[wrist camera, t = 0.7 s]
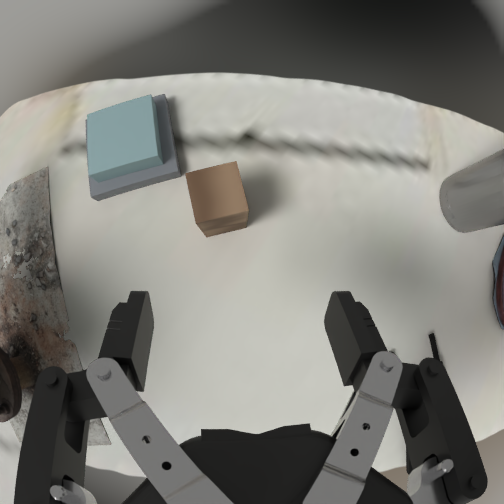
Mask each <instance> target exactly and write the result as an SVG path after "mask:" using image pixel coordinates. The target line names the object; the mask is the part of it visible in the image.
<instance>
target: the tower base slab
mask: <svg viewBox="0 0 504 504" xmlns="http://www.w3.org/2000/svg"><path fill="white" fill-rule="evenodd" d="M152 98H153V100H154V102H155V104H156V109H157V118H158V127H159V135H160V143H161V150H162V158H163V165H159V166H155V167H152V168H148V169H144V170H140V171H137V172H133V173H129V174H126V175H122V176H119V177H115V178H112V179H109V180H105V181H102V182H99V183H98V182H97V181H95V180H94V179H93V178H91V177H90V176H89V184H90V194H91V197H92V198H93V199H95V200H97V201H100V200H103V199H106V198H109V197H112V196H115V195H118V194H122V193H125V192H128V191H132V190H135V189H138V188H142V187H145V186H149V185H152V184H156V183H159V182H163V181H167V180H170V179H174V178H178V177H181V173H180V168H179V163H178V157H177V152H176V147H175V141H174V136H173V130H172V124H171V118H170V113H169V107H168V101H167V99H166V96H165V94H162V95H158V96H155V97H152ZM86 144H87V120H86ZM87 160H88V146H87ZM88 173H89V172H88Z"/></svg>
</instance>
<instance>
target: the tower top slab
mask: <svg viewBox="0 0 504 504" xmlns="http://www.w3.org/2000/svg"><path fill="white" fill-rule="evenodd" d="M87 146H88V172H89V176H90V177H91V178H93V179H94V180H95V181H97V182H98V183H99V182H102V181H105V180H109V179H112V178H115V177H119V176H122V175H126V174H129V173H133V172H137V171H140V170H144V169H148V168H152V167H155V166H159V165H163V158H162V150H161V143H160V135H159V127H158V118H157V109H156V104H155V102H154V100H153V98H152V96H151V95H147V96H144V97H140V98H137V99H133V100H130V101H126V102H123V103H120V104H117V105H114V106H111V107H108V108H105V109H102V110H99V111H96V112H93V113H91V114H88V115H87Z"/></svg>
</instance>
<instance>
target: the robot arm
mask: <svg viewBox="0 0 504 504" xmlns="http://www.w3.org/2000/svg"><path fill="white" fill-rule="evenodd" d="M440 204H441V209H442V211H443V214H444V216H445V218H446V220H447V221H448V223H449V224H450V225H451V226H452V227H453V228H454V229H455V230H457V231H459V232H463V233H467V232H471V231H476V230H480V229H485V228H489V227H494V226H498V225H502V224H504V149H503V150H501V151H499V152H497V153H495V154H493V155H491V156H489V157H487V158H485V159H483V160H481V161H479V162H477V163H475V164H473V165H471V166H469V167H467V168H466V169H463V170H461V171H459V172H458V173H456V174H454V175H452V176H450V177H448V178H447V179H446V180H445V181H444V182H443V184H442V186H441V190H440ZM324 324H325V329H326V332H327V335H328V338H329V341H330V344H331V347H332V350H333V353H334V357H335V360H336V363H337V366H338V369H339V372H340V375H341V378H342V381H343V385H344V386H349V385H353V388H354V391H353V393H352V395H351V397H350V399H349V401H348V403H347V405H346V407H345V409H344V411H343V413H342V415H341V417H340V419H339V421H338V423H337V425H336V427H335V429H334V430H333V432H332V434H331V435H327V434H325V433H322V432H319V431H315V430H311V428H310V423H309V424H301V425H291V426H283V427H280V428H277V429H274V430H271V431H267V432H264V433H261V434H251V433H246V432H240V431H235V430H230V429H201V436H198V437H194V438H191V439H189V440H187V441H185V442H183V443H181V444H180V445H178V444H177V443H176V441H175V440H174V439H173V438H172V436H171V435H170V434H169V433H168V431H167V430H166V429H165V427H164V426H163V425H162V423H161V422H160V421H159V419H158V418H157V417H156V415H155V414H154V413H153V411H152V410H151V409H150V407H149V406H148V405H147V403H146V402H145V401H143V400H142V399H141V398H140V396H139V395H138V393H137V392H136V391H141V392H144V386H145V379H146V372H147V366H148V359H149V353H150V347H151V341H152V335H153V329H154V318H153V313H152V307H151V302H150V297H149V293H148V291H131V292H130V295H129V298H128V301H127V303H121V302H120V303H119V304H118V305H117V306H116V307H115V308H114V309H113V311H112V314H111V317H110V322H109V323H108V326H107V330H106V333H105V336H104V340H103V343H102V346H101V350H100V353H99V357H98V359H97V360H95V361H93V362H92V363H91V364H90V365H89V367H88V368H87V369H86V370H83V371H78V372H72V373H67V374H66V372H65V371H64V370H63V369H62V368H60V367H57V366H51V367H48V368H46V369H44V370H43V371H42V372H41V373H40V374H39V376H38V378H37V382H36V385H35V389H34V393H33V397H32V400H31V404H30V408H29V413H28V417H27V421H26V426H25V430H24V435H23V440H22V446H21V451H20V457H19V464H18V471H17V478H16V486H15V496H14V504H97V503H96V500H95V498H94V496H93V495H92V494H91V493H90V492H89V491H87V490H86V489H84V476H85V462H86V451H87V441H88V433H89V425H90V420H92V419H98V418H103V417H108V418H109V420H110V422H111V424H112V426H113V427H114V429H115V431H116V432H117V434H118V435H119V437H120V439H121V440H122V442H123V443H124V445H125V446H126V448H127V449H128V451H129V452H130V454H131V455H132V457H133V458H134V460H135V461H136V463H137V464H138V465H139V467H140V468H141V470H142V471H143V472H144V474H145V475H146V476H147V478H146V479H145V481H144V482H143V483H142V484H141V485H140V486H139V487H138V488H137V489H136V490H135V491H134V492H133V493H132V494H131V495H130V496H129V497H128V498H127V499H126V500H125V501H124V502H123V503H122V504H466V503H468V502H470V501H472V500H474V499H477V498H479V497H480V496H481V495H482V494H483V493H484V492H485V490H486V488H487V475H486V472H485V469H484V466H483V463H482V460H481V457H480V454H479V451H478V448H477V445H476V442H475V439H474V437H473V434H472V431H471V429H470V426H469V423H468V421H467V418H466V416H465V413H464V411H463V408H462V406H461V403H460V401H459V399H458V396H457V394H456V392H455V389H454V387H453V385H452V382H451V380H450V378H449V376H448V374H447V371H446V369H445V367H444V366H443V364H442V363H441V362H440V361H438V360H437V359H434V358H425V359H423V360H422V361H421V362H420V364H419V365H415V364H408V363H402V362H401V360H400V359H399V358H398V357H397V356H396V355H395V354H393V353H391V352H388V351H387V349H386V347H385V344H384V342H383V340H382V338H381V336H380V334H379V332H378V329H377V327H375V323H374V321H373V320H372V317H371V315H370V313H369V311H368V309H367V308H366V307H365V306H364V305H363V304H362V303H361V302H355V300H354V298H353V296H352V294H351V292H350V291H334V292H333V293H332V294H331V297H330V301H329V304H328V307H327V311H326V314H325V319H324ZM393 408H395V409H396V413H397V416H398V419H399V422H400V426H401V429H402V433H403V436H404V439H405V443H406V446H407V450H408V454H409V457H410V461H411V465H412V469H413V471H412V472H411V473H410V475H409V477H408V485H407V489H408V491H407V493H406V492H405V491H404V490H402V489H401V488H400V487H398V486H397V485H395V484H394V483H393V482H391V481H390V480H389V479H387V478H386V477H384V476H383V475H382V474H380V473H379V472H378V471H376V470H375V469H374V468H372V467H371V466H372V464H373V461H374V459H375V457H376V454H377V452H378V449H379V447H380V444H381V442H382V439H383V437H384V434H385V431H386V429H387V426H388V423H389V420H390V418H391V415H392V412H393Z"/></svg>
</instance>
